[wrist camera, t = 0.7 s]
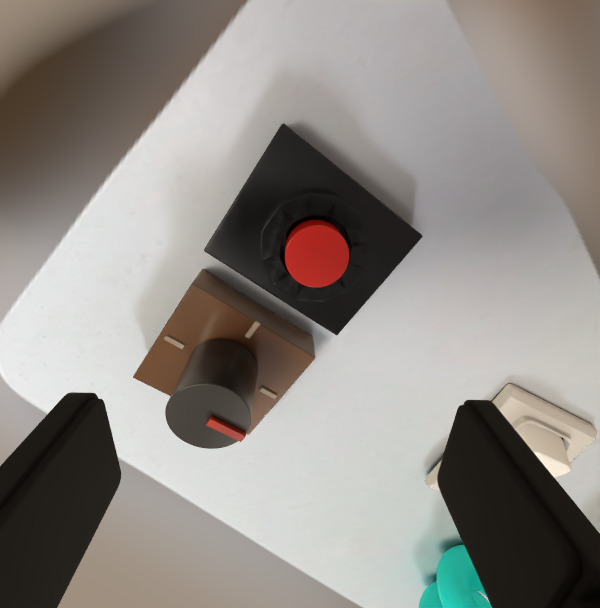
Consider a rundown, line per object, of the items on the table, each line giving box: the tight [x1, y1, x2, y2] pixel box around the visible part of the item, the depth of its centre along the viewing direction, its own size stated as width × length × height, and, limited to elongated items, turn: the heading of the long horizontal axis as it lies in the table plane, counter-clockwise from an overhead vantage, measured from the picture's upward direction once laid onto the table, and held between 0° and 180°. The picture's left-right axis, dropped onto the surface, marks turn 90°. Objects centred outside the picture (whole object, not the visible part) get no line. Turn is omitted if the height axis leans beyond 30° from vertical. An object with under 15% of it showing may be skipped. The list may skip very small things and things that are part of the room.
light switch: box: [424, 384, 597, 491], centre depth 31 cm, size 11×4×13 cm
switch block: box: [204, 124, 422, 335], centre depth 22 cm, size 11×9×4 cm
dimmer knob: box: [166, 339, 258, 448], centre depth 22 cm, size 5×5×5 cm
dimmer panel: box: [133, 269, 315, 435], centre depth 26 cm, size 10×9×3 cm
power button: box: [285, 219, 349, 287], centre depth 20 cm, size 4×4×2 cm
